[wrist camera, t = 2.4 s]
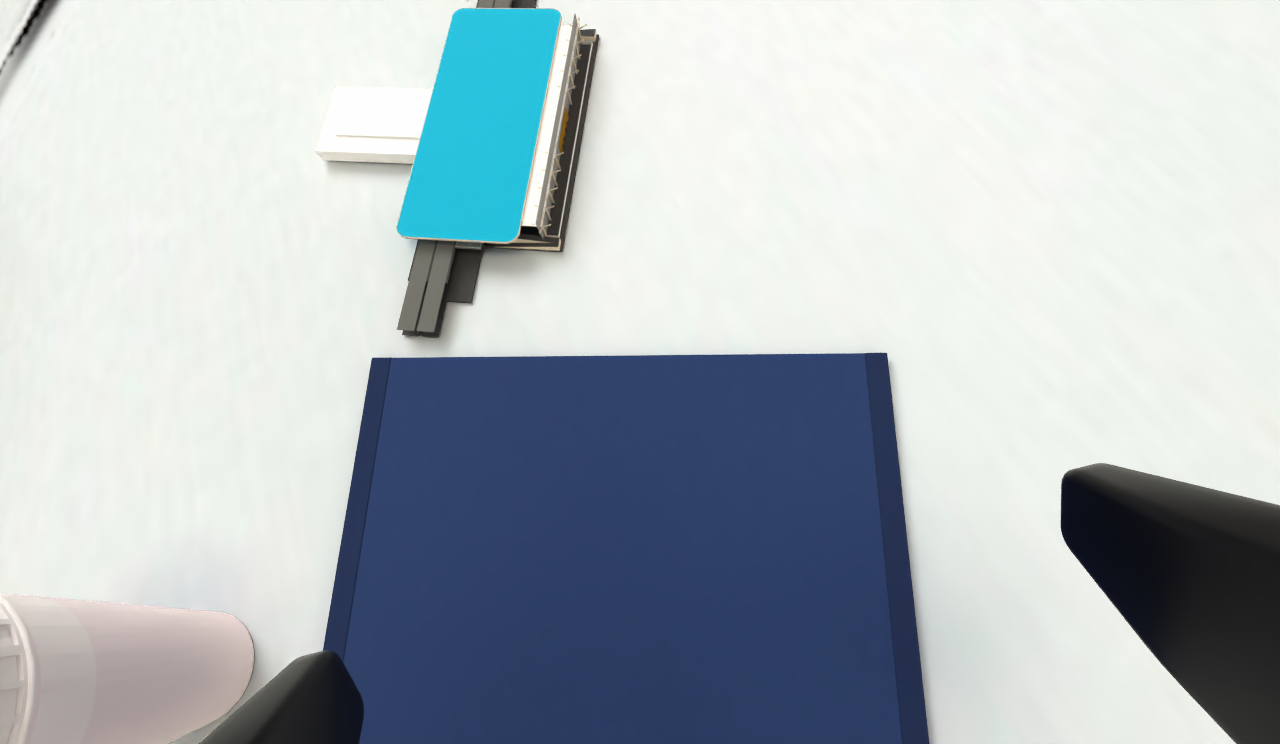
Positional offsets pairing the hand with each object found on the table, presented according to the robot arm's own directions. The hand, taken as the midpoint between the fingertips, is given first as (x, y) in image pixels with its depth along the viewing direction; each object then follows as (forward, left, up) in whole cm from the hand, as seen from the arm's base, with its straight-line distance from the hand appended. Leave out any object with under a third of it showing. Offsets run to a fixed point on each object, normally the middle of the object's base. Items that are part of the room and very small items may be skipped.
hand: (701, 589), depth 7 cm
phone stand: (+19, +11, -15) cm, 26 cm away
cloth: (0, +3, -14) cm, 15 cm away
